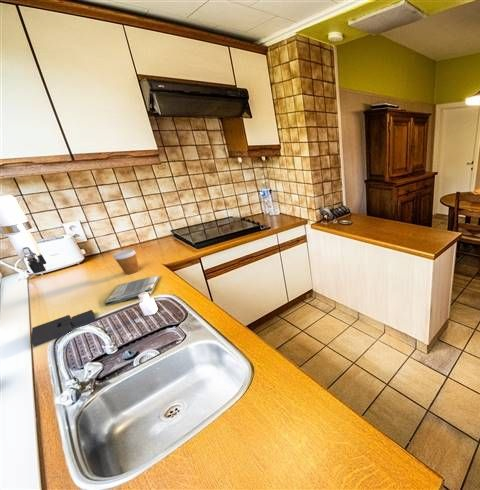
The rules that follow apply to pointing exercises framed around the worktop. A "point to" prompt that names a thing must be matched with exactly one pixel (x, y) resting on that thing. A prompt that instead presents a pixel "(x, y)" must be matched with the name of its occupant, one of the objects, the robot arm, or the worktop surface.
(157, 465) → the worktop surface
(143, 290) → the dish towel
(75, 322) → the black pad
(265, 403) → the worktop surface
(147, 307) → the pepper shaker
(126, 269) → the disposable coffee cup
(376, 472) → the worktop surface
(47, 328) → the charcoal pad
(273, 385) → the worktop surface
